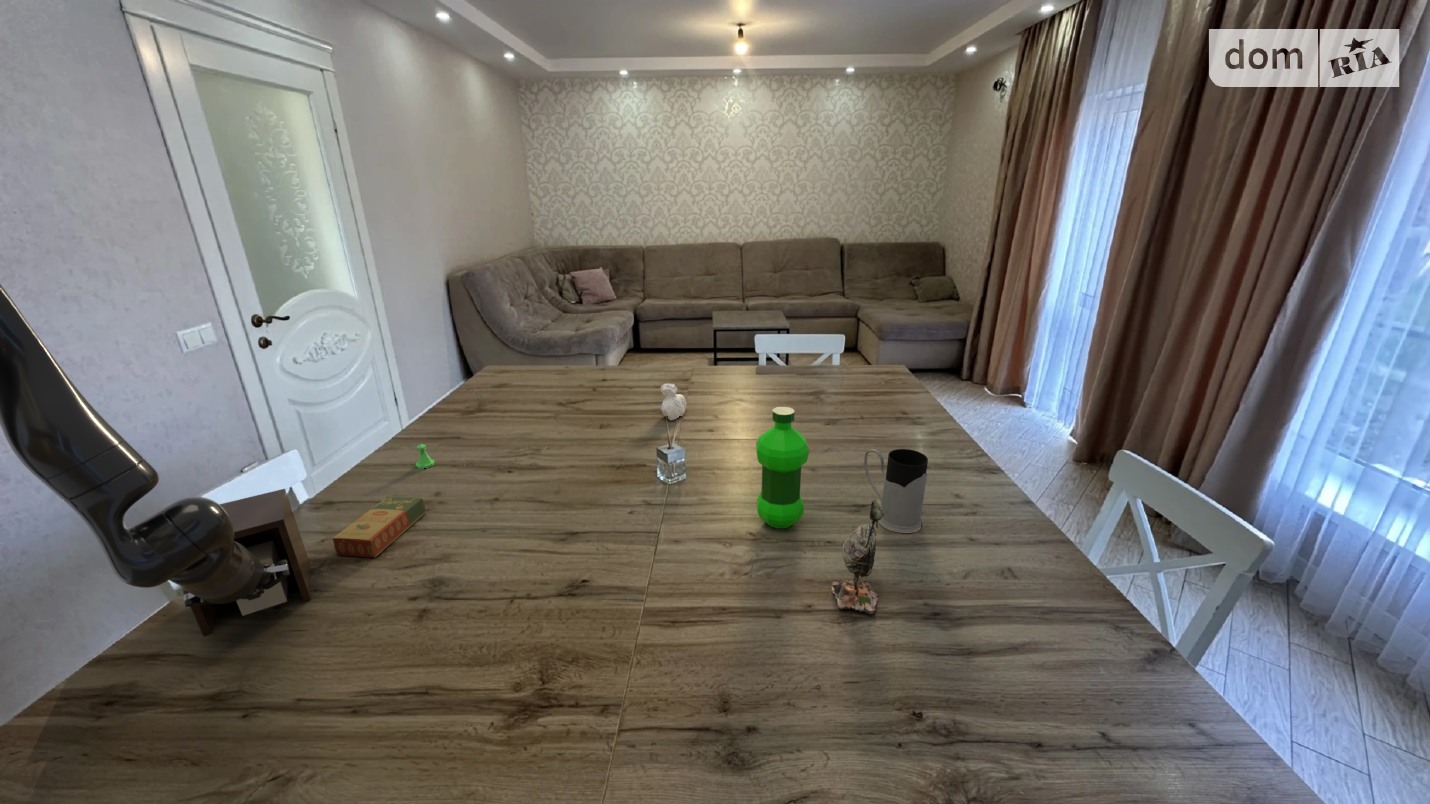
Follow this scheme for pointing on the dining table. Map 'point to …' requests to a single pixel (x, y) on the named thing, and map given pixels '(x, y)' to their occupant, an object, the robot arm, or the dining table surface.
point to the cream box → (270, 596)
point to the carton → (379, 526)
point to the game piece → (423, 458)
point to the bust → (672, 402)
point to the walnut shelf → (258, 525)
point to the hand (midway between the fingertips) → (254, 592)
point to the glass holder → (902, 488)
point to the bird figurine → (859, 565)
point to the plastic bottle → (781, 470)
